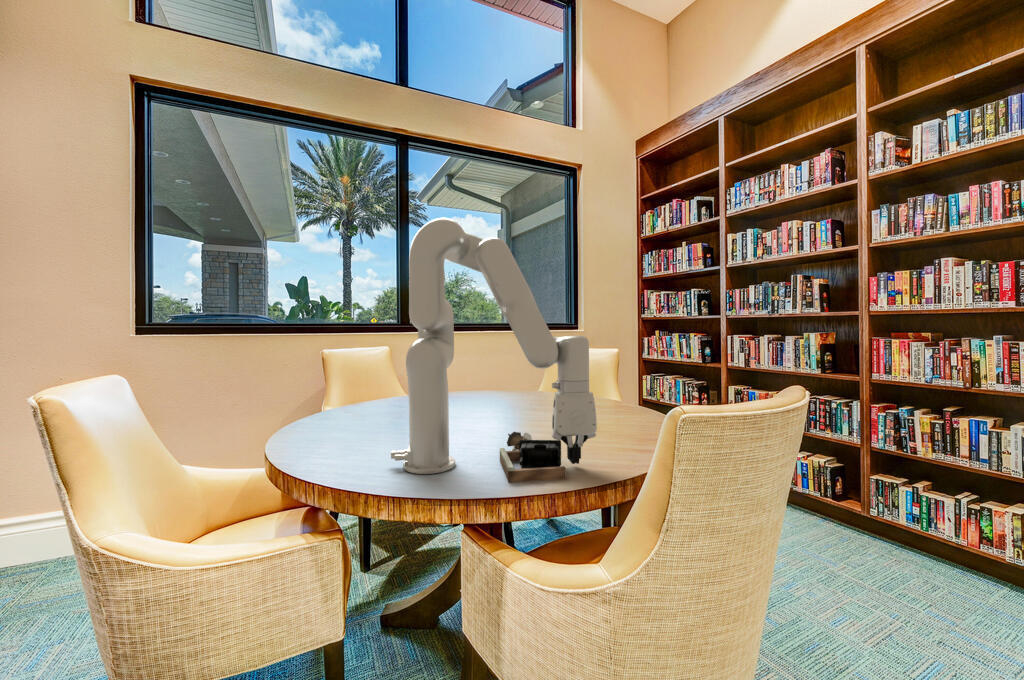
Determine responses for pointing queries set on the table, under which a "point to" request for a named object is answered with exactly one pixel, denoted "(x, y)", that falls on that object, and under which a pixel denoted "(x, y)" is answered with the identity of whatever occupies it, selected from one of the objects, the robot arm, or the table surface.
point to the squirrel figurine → (517, 439)
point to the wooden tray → (527, 469)
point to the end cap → (540, 453)
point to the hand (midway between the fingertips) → (574, 461)
